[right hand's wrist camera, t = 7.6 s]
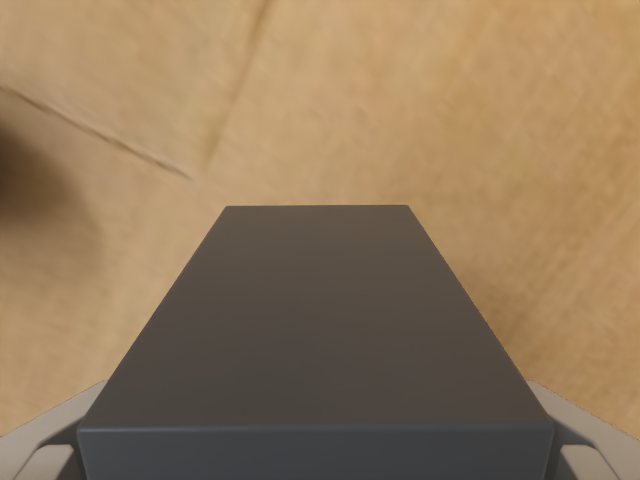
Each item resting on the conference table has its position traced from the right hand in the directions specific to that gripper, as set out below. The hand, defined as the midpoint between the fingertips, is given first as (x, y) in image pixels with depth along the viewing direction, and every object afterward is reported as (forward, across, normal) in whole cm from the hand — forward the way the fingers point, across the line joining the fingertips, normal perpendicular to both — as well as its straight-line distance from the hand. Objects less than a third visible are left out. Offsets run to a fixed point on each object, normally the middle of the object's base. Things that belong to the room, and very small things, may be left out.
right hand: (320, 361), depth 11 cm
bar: (+3, 0, -8) cm, 9 cm away
